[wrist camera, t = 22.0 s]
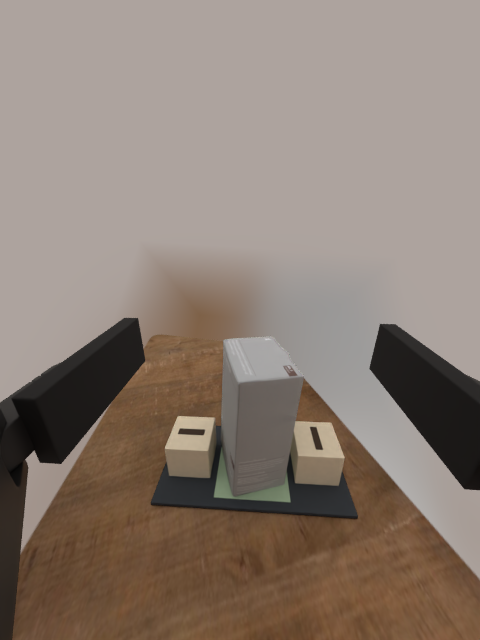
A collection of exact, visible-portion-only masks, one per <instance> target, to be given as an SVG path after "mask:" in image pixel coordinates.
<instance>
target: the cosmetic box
mask: <svg viewBox="0 0 480 640" xmlns="http://www.w3.org/2000/svg"><path fill="white" fill-rule="evenodd" d="M303 378H304V376H303V374H302V373H301V372H300V371H299V369H298V368H297V367H296V365H295V364H294V363H293V362H292V361H291V359H290V354H289V353H288V351H286V350H285V349H283V348H282V347H281V346H280V345H279V344H278V342H277V341H276V340H275V338H274V337H273V336H271V337H270V336H269V337H254V338H235V339H226V340H224V341H223V383H222V416H221V443H222V450H223V456H224V461H225V467H226V472H227V476H228V480H229V485H230V489H231V493H232V495H233V496H234V497H235V496H239V495H243V494H247V493H251V492H256V491H260V490H264V489H269V488H273V487H277V486H281V485H284V483H285V476H286V471H287V465H288V460H289V454H290V449H291V443H292V438H293V432H294V427H295V421H296V416H297V411H298V405H299V400H300V395H301V389H302V384H303Z"/></svg>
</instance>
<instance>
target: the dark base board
mask: <svg viewBox="0 0 480 640" xmlns="http://www.w3.org/2000/svg"><path fill="white" fill-rule="evenodd" d="M165 454H166V460H167V461H166V464H165V467H164V469H163V472H162V475H161V477H160V480H159V482H158V485H157V488H156V490H155V493H154V495H153V498H152V501H151V505H164V506H178V507H193V508H208V509H223V510H238V511H253V512H267V513H282V514H297V515H312V516H327V517H342V518H356V519H357V518H358V515H357V512H356V509H355V506H354V503H353V501H352V498H351V495H350V492H349V489H348V486H347V484H346V481H345V478H344V475H343V472H342V468H343V464H344V459H345V458H344V455H343V452H342V450H341V447H340V445H339V442H338V439H337V437H336V434H335V431H334V429H333V426H332V424H331V423H321V422H298V421H295V427H294V432H293V438H292V443H291V449H290V454H289V460H288V465H287V471H286V476H285V483H284V485H281V486H277V487H273V488H269V489H264V490H260V491H256V492H251V493H247V494H243V495H239V496H235V497H234V496H233V495H232V493H231V489H230V485H229V480H228V476H227V472H226V467H225V461H224V456H223V450H222V443H221V426H216V425H215V418H207V417H184V416H178V418H177V420H176V422H175V425H174V427H173V430H172V432H171V435H170V437H169V439H168V442H167V444H166V447H165Z"/></svg>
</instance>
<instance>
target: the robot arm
mask: <svg viewBox="0 0 480 640" xmlns="http://www.w3.org/2000/svg"><path fill="white" fill-rule="evenodd" d="M144 362H145V356H144V350H143V344H142V339H141V333H140V328H139V321H138V318H124V319H122V320H121V321H120V322H118V323H117V324H116V325H114V326H113V327H111V328H110V329H108V330H107V331H105V332H104V333H103V334H101V335H100V336H98V337H97V338H96V339H94V340H93V341H91V342H90V343H89V344H87V345H86V346H84V347H83V348H81V349H80V350H79V351H77V352H76V353H74V354H73V355H72V356H70V357H69V358H67V359H66V360H64V361H63V362H61V363H59V364H57V365H55V366H53V367H51V368H49V369H48V370H47V371H45V372H44V373H42V374H41V376H38V377H36V378H35V379H34V380H32V382H29V383H28V384H26V385H25V386H23V387H22V388H21V389H19V390H18V391H16V392H15V393H13V394H12V395H10V396H9V397H8V398H6V399H5V400H3V401H2V402H1V403H0V640H12V636H13V625H14V614H15V604H16V593H17V582H18V572H19V561H20V550H21V539H22V528H23V518H24V507H25V497H26V486H27V475H28V465H27V462H26V460H25V459H26V458H27V457H28V456H29V455H30V454H31V453H32V452H33V451H34V450H35V453H36V455H37V457H38V459H39V461H40V463H55V464H61V463H62V462H63V461H64V460H65V459H66V457H67V456H68V455H69V454H70V452H71V451H72V450H73V449H74V448H75V446H76V445H77V444H78V443H79V441H80V440H81V439H82V438H83V437H84V435H85V434H86V433H87V432H88V430H89V429H90V428H91V427H92V425H93V424H94V423H95V422H96V421H97V419H98V418H99V417H100V416H101V414H102V413H103V412H104V411H105V410H106V408H107V407H108V406H109V405H110V403H111V402H112V401H113V400H114V399H115V397H116V396H117V395H118V394H119V392H120V391H121V390H122V389H123V387H124V386H125V385H126V384H127V383H128V381H129V380H130V379H131V378H132V376H133V375H134V374H135V373H136V372H137V370H138V369H139V368H140V367H141V365H142V364H143V363H144ZM370 370H371V371H372V372H373V374H374V375H375V376H376V378H377V379H378V380H379V381H380V383H381V384H382V385H383V386H384V388H385V389H386V390H387V391H388V393H389V394H390V395H391V397H392V398H393V399H394V400H395V402H396V403H397V404H398V405H399V407H400V408H401V409H402V411H403V412H404V413H405V414H406V416H407V417H408V418H409V419H410V421H411V422H412V423H413V424H414V426H415V427H416V428H417V430H418V431H419V432H420V433H421V435H422V436H423V437H424V438H425V439H426V441H427V442H428V444H429V445H430V446H431V447H432V448H433V450H434V451H435V452H436V453H437V455H438V456H439V458H440V459H441V460H442V461H443V463H444V464H445V465H446V466H447V468H448V469H449V470H450V472H451V473H452V474H453V475H454V476H455V478H456V479H457V480H458V482H459V483H460V484H461V485H462V487H463V488H464V489H470V490H480V381H478V380H476V379H474V378H472V377H470V376H467V375H465V374H464V373H462V372H461V371H460V370H458V369H457V368H455V367H454V366H453V365H451V364H450V363H448V362H447V361H446V360H444V359H443V358H441V357H440V356H438V355H437V354H436V353H434V352H433V351H432V350H430V349H429V348H427V347H426V346H425V345H423V344H422V343H420V342H419V341H417V340H416V339H415V338H413V337H412V336H411V335H409V334H408V333H407V332H405V331H404V330H402V329H401V328H400V327H398V326H397V325H395V324H380V327H379V331H378V335H377V339H376V343H375V348H374V352H373V356H372V360H371V364H370Z"/></svg>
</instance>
